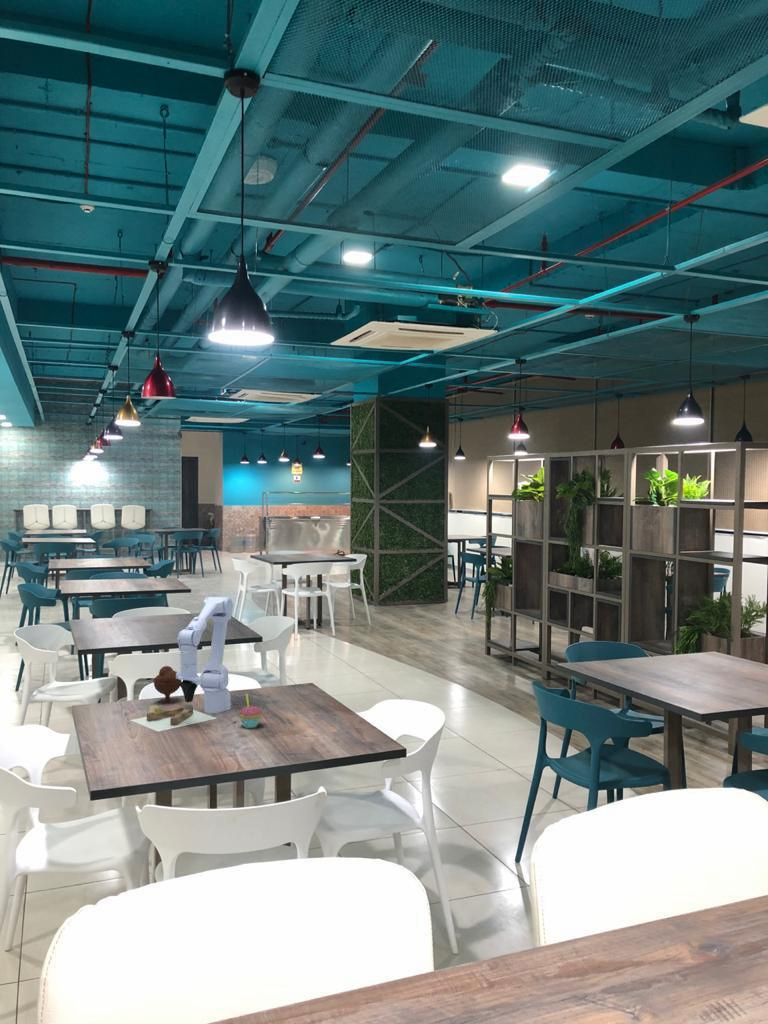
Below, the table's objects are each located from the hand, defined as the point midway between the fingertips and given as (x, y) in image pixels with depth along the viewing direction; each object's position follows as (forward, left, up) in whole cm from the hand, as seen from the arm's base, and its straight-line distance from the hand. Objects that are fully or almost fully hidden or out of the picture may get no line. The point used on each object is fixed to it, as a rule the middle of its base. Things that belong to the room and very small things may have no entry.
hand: (188, 701), depth 288 cm
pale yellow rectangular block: (+5, -15, -6) cm, 17 cm away
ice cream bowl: (-11, -35, -10) cm, 37 cm away
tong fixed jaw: (-1, -14, -8) cm, 16 cm away
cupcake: (-17, +13, -10) cm, 24 cm away
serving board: (0, -11, -9) cm, 14 cm away
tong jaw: (-1, -7, -8) cm, 11 cm away
